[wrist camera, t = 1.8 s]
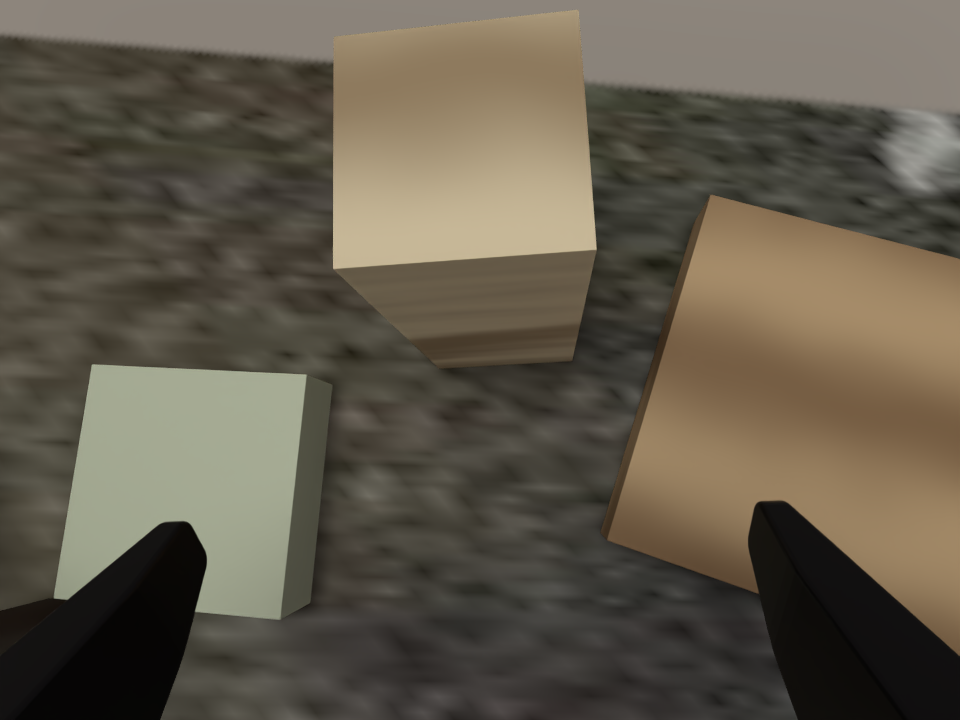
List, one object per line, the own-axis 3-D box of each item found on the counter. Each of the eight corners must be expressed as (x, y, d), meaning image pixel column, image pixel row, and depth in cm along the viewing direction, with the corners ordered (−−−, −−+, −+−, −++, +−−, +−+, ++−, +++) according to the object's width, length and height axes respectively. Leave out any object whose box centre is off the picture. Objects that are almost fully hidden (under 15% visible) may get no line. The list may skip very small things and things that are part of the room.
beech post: (572, 361, 23) (596, 249, 12) (439, 368, 24) (333, 268, 12) (563, 233, 24) (578, 9, 12) (435, 243, 25) (333, 36, 13)
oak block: (951, 654, 21) (1017, 685, 18) (599, 531, 23) (606, 540, 20) (1025, 318, 22) (1097, 295, 19) (691, 228, 24) (710, 194, 21)
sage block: (314, 600, 23) (280, 619, 20) (113, 582, 24) (53, 598, 21) (335, 386, 25) (306, 374, 22) (144, 376, 25) (92, 364, 23)
